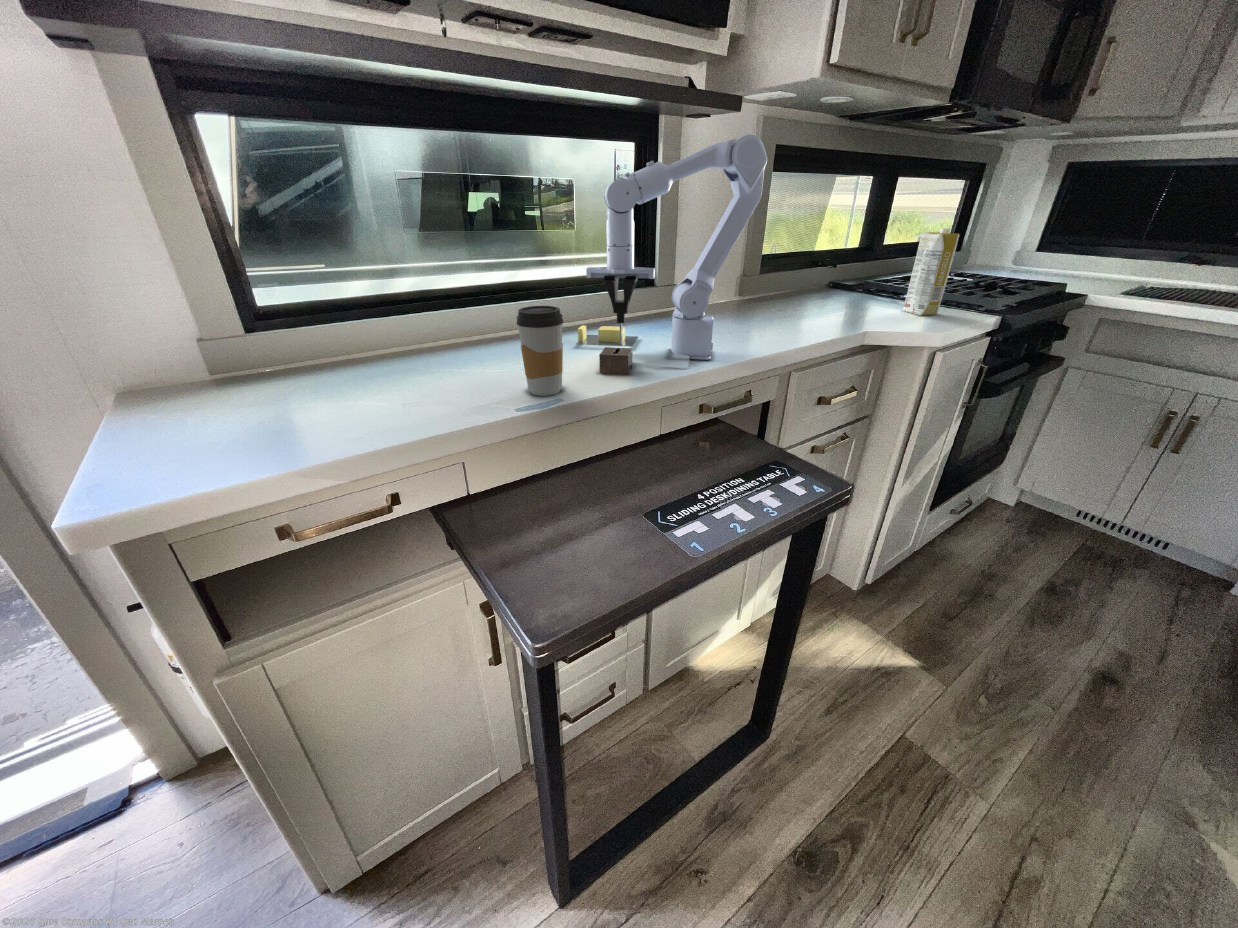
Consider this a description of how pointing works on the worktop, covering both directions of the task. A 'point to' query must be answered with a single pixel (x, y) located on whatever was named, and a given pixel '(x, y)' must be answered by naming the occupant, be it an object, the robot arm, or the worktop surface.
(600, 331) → the butter block
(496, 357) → the worktop surface
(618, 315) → the knife
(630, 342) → the butter dish
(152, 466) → the worktop surface
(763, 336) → the worktop surface
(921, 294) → the juice carton
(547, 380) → the coffee cup
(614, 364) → the knife block
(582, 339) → the butter slice
